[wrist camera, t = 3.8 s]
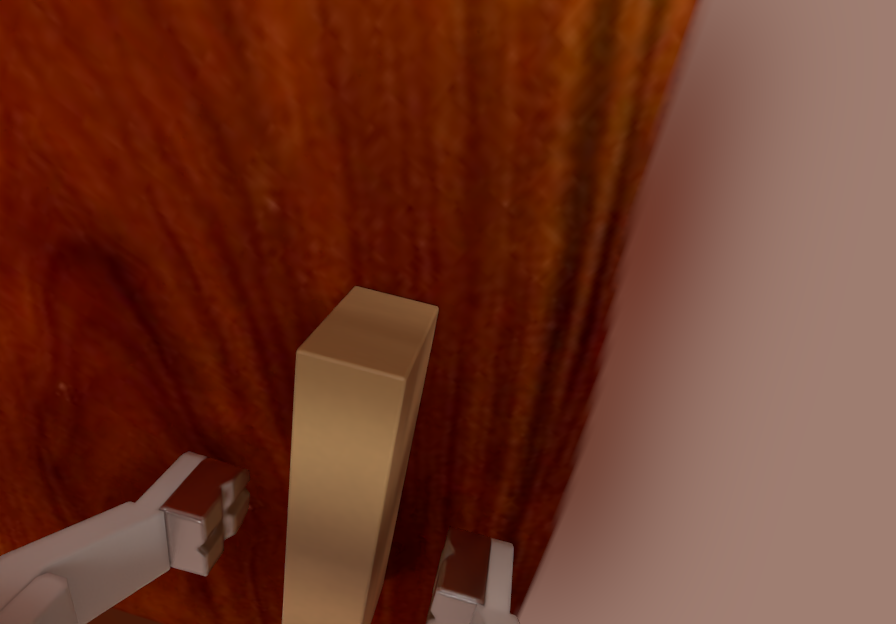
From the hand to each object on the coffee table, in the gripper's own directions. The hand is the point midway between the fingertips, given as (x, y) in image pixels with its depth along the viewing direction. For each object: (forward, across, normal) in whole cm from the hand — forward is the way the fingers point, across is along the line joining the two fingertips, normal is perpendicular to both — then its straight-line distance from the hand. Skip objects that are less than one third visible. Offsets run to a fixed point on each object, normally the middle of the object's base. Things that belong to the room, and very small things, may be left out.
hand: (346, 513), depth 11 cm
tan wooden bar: (+2, 0, 0) cm, 2 cm away
